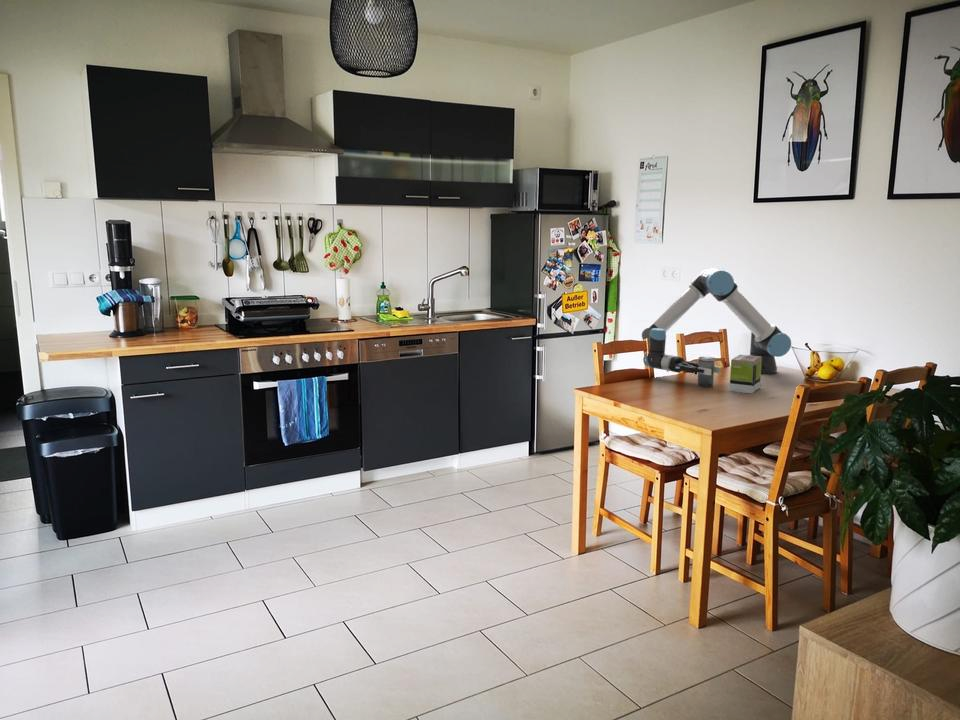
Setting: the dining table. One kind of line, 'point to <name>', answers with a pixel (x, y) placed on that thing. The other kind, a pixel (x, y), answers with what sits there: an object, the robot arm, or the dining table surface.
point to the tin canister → (702, 378)
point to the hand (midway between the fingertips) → (715, 371)
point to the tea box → (745, 373)
